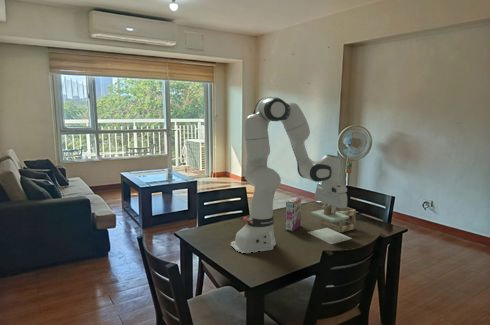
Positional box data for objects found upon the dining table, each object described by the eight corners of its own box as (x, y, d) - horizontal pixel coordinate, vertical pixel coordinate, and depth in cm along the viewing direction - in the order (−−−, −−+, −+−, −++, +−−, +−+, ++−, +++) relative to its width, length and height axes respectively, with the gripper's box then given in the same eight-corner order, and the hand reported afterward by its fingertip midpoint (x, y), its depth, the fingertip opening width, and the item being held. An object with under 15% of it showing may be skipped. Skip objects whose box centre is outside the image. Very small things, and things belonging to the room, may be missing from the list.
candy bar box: (293, 231, 181) (293, 202, 179) (285, 230, 184) (285, 201, 181) (301, 225, 191) (301, 197, 188) (292, 224, 193) (293, 196, 191)
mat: (330, 244, 164) (330, 243, 164) (307, 232, 179) (307, 232, 179) (351, 239, 170) (351, 238, 170) (327, 228, 186) (327, 227, 186)
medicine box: (344, 225, 190) (344, 211, 189) (345, 228, 186) (346, 213, 184) (330, 225, 191) (330, 210, 190) (331, 228, 187) (331, 213, 185)
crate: (340, 232, 179) (341, 212, 178) (321, 224, 192) (321, 206, 191) (355, 229, 184) (355, 209, 183) (335, 221, 198) (336, 203, 196)
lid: (331, 224, 164) (332, 213, 163) (311, 215, 177) (311, 205, 177) (349, 220, 169) (349, 209, 168) (327, 212, 183) (328, 202, 182)
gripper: (312, 183, 178) (311, 208, 180) (340, 190, 160) (339, 218, 163) (321, 181, 181) (320, 206, 183) (349, 189, 163) (348, 216, 166)
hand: (329, 212), depth 173 cm, fingers closed on lid
